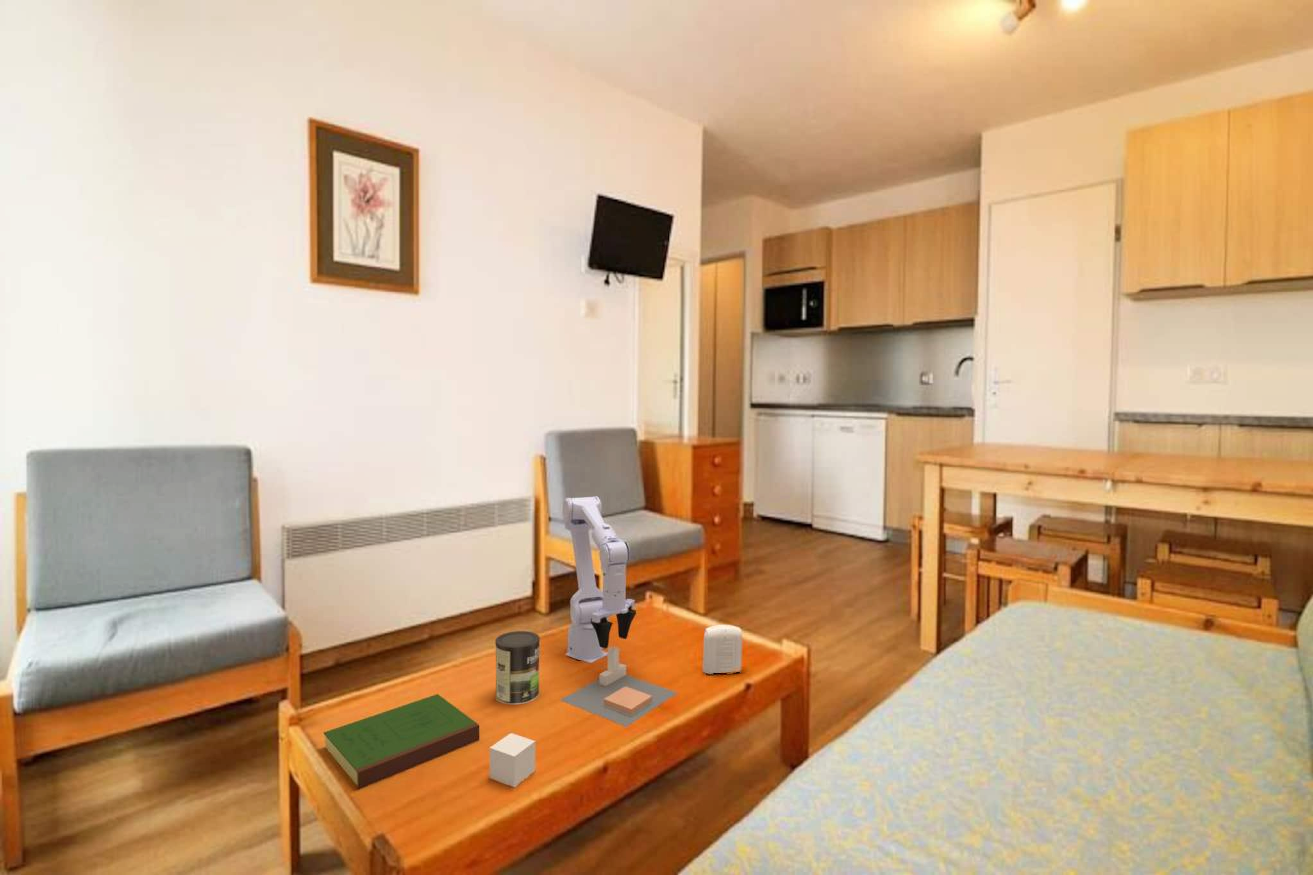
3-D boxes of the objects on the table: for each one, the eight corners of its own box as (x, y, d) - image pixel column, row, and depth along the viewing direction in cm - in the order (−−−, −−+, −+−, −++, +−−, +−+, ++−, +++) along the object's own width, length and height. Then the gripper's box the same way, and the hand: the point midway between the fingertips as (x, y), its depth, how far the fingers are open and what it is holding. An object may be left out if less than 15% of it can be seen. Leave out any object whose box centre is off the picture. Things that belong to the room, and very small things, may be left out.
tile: (603, 698, 147) (631, 709, 142) (625, 686, 153) (652, 695, 149) (603, 705, 147) (631, 716, 142) (625, 693, 153) (652, 702, 149)
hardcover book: (358, 792, 116) (358, 772, 115) (323, 750, 129) (323, 732, 129) (482, 740, 133) (482, 723, 133) (440, 708, 147) (440, 692, 146)
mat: (559, 701, 150) (559, 699, 150) (613, 672, 166) (613, 670, 166) (626, 728, 138) (626, 726, 138) (677, 694, 154) (677, 692, 154)
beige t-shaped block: (599, 683, 158) (599, 652, 158) (619, 672, 165) (620, 642, 164) (605, 686, 157) (606, 654, 156) (625, 674, 163) (626, 644, 163)
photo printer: (738, 667, 170) (740, 622, 170) (743, 674, 166) (744, 627, 165) (701, 668, 169) (702, 623, 168) (704, 675, 165) (705, 629, 164)
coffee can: (545, 688, 156) (546, 632, 155) (529, 708, 146) (529, 648, 145) (506, 684, 158) (506, 628, 157) (487, 703, 148) (487, 644, 147)
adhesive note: (510, 762, 125) (511, 732, 125) (535, 771, 122) (535, 740, 122) (489, 778, 120) (489, 747, 119) (514, 787, 117) (514, 756, 117)
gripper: (607, 600, 151) (607, 655, 152) (644, 585, 163) (643, 637, 164) (585, 594, 155) (584, 648, 156) (622, 580, 167) (622, 631, 168)
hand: (613, 642), depth 160 cm, fingers open, 7 cm apart
